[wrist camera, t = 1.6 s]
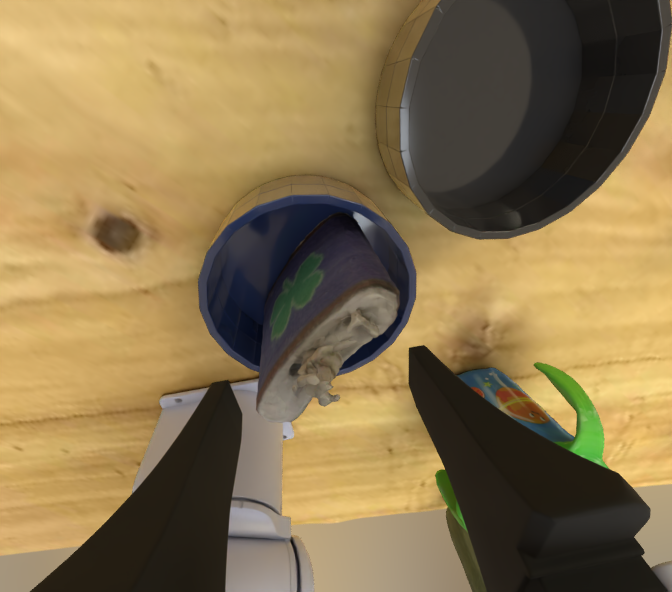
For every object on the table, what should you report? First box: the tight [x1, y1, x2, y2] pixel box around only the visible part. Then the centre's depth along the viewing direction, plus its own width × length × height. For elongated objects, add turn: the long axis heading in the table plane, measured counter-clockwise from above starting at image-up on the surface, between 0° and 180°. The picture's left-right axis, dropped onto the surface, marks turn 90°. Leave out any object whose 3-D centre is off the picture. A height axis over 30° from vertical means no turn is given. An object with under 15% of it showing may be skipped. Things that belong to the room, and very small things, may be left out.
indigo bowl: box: [198, 175, 416, 376], centre depth 20 cm, size 12×12×4 cm
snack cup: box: [435, 363, 609, 532], centre depth 27 cm, size 16×10×10 cm
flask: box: [256, 212, 400, 423], centre depth 17 cm, size 9×3×11 cm, turn 142°
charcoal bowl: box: [375, 0, 672, 239], centre depth 16 cm, size 12×12×4 cm
